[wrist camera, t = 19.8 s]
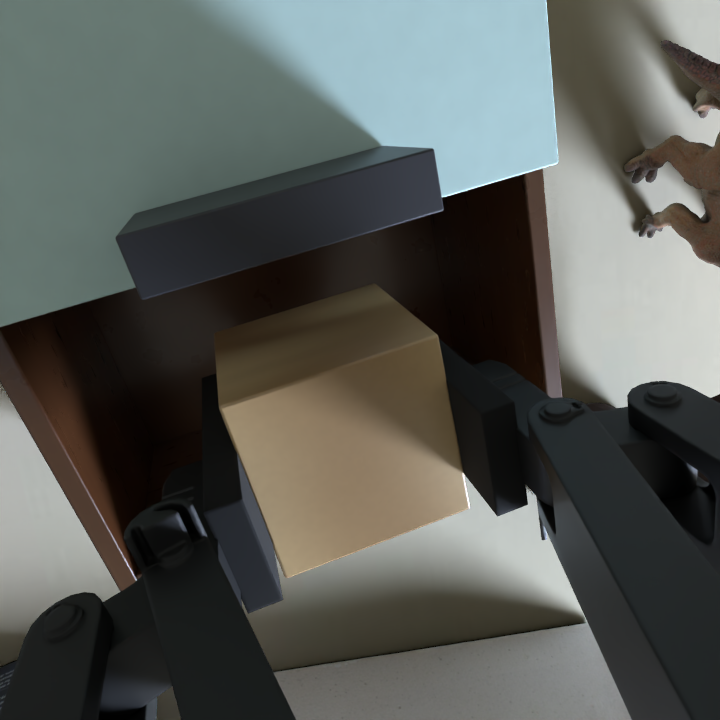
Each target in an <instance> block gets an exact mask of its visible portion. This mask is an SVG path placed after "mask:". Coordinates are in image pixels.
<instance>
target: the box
mask: <svg viewBox="0 0 720 720" xmlns="http://www.w3.org/2000/svg"><path fill="white" fill-rule="evenodd" d="M273 673H274V675H275V677H276V679H277V681H278V683H279V685H280V687H281V689H282V691H283V693H284V695H285V697H286V700H287V702H288V704H289V706H290V708H291V710H292V712H293V714H294V716H295V718H296V720H632V719H631V717H630V715H629V713H628V710H627V708H626V706H625V704H624V702H623V699H622V697H621V695H620V693H619V690H618V688H617V686H616V684H615V682H614V679H613V677H612V675H611V673H610V671H609V668H608V666H607V664H606V662H605V659H604V657H603V655H602V653H601V651H600V648H599V646H598V644H597V642H596V640H595V637H594V635H593V633H592V631H591V628H590V626H589V624H588V623H583V624H577V625H572V626H564V627H559V628H552V629H546V630H540V631H533V632H528V633H521V634H515V635H508V636H502V637H496V638H491V639H483V640H478V641H471V642H463V643H458V644H451V645H445V646H438V647H432V648H426V649H419V650H413V651H408V652H401V653H395V654H389V655H381V656H375V657H368V658H361V659H355V660H349V661H342V662H335V663H329V664H322V665H316V666H310V667H303V668H297V669H291V670H285V671H277V672H273Z"/></svg>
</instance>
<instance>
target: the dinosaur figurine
mask: <svg viewBox="0 0 720 720" xmlns="http://www.w3.org/2000/svg"><path fill="white" fill-rule="evenodd" d="M661 48H662V49H663V50H664V51H665V52H666V53H667V54H668V55H669V56H670V57H671V58H672V59H673V60H674V61H675V62H676V63H677V64H678V66H679V67H680V68H681V70H682V71H683V72H684V74H685V75H686V76H687V77H688V78H690V79H691V80H692V81H693V82H695V83H696V84H697V85H699V86H700V87H702V88H701V89H700V90H699V91H698V92H697V94H696V100H697V102H696V104H695V105H694V106H693V111H694V112H696V111H698V114H699V116H700V117H701V118H705V117H706V116H707V114H708V111H709V110H710V109H711V108H712V109H718V110H720V64H717V63H714V62H711V61H709V60H708V59H705V58H703V57H702V56H700V55H697V54H695V53H694V52H691V51H690V50H689V49H686V48H683V47H681V46H679V45H678V44H674V43H672V42H671V41H667V40H664V41H662V42H661ZM667 161H669V162H670V163H671V164H672V166H673V167H674V168H675V169H676V170H677V171H678V172H679V173H680V174H681V175H682V177H683V178H684V181H685V182H686V183H688V184H689V185H691V186H693V187H695V188H697V189H702V197H703V198H702V201H703V203H704V207H705V214H704V215H703V217H702V218H701V219H700V218H699V217H698V216H697V215H696V214H695V213H693V212H691V211H690V210H689V209H688V208H687V207H686V206H684V205H683V204H680V203H673V204H671V205H669V206H668V207H667V208H665V209H664V210H663V211H662V212H657V213H655V214H654V215H653V216H650V215H646V218H644V219H643V220H642V222H643V225H642V226H641V228H640V232H639V236H640V237H643V236H644V235H645V234H646V232H647V236H648V238H652V237H653V235H654V233H655V230H658V231H662V229H663V227H665V226H667V225H668V226H672V228H673V229H674V230H675V231H676V232H677V233H678V234H679V235H680V236H681V237H683V238H684V239H686V240H687V241H688V242H689V243H690V244H691V246H692V249H693V251H694V252H695V254H696V256H697V257H698V258H700V259H701V260H703V261H705V262H707V263H710V264H714V265H716V266H718V267H720V132H719V134H718V136H717V139H716V142H715V146H714V147H711V146H709V145H706V144H704V143H694V142H689V141H687V140H685V139H683V138H682V137H681V136H678V135H673V136H671V137H669V138H668V139H667V140H665V141H664V142H663V143H662V144H660V145H658V146H657V147H655V148H653V149H647V150H646V151H644V152H643V154H642V155H639V156H637V157H635V158H633V159H631V160H630V161H629V162H628V163H627V164H625V166H624V169H625V171H626V172H630V171H633V170H635V173H634V175H633V177H632V183H638V182H640V181H641V180H642V179H643V178H644V177H646V181H647V182H650V183H651V182H653V181H654V180H655V178H656V176H657V170H658V168H661V167H662V166H663V165H664V164H665V162H667Z"/></svg>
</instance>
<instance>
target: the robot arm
mask: <svg viewBox="0 0 720 720" xmlns="http://www.w3.org/2000/svg"><path fill="white" fill-rule="evenodd" d="M439 342H440V348H441V353H442V358H443V364H444V369H445V374H446V382H447V387H448V393H449V398H450V403H451V409H452V414H453V419H454V425H455V430H456V435H457V440H458V446H459V451H460V456H461V462H462V467H463V472H464V474H465V475H466V477H467V478H468V479H469V481H470V482H471V483H472V484H473V486H474V487H475V488H476V490H477V491H478V492H479V493H480V495H481V496H482V497H483V498H484V500H485V501H486V502H487V504H488V505H489V506H490V507H491V509H492V510H493V511H494V512H495V514H496V515H497V516H500V515H502V514H505V513H507V512H510V511H512V510H515V509H518V508H520V507H523V506H525V505H528V502H527V494H526V486H525V484H526V485H527V486H528V487H529V488H530V489H531V490H532V492H533V493H534V494H535V495H536V497H537V505H538V513H539V521H540V529H541V537H542V540H545V539H547V534H546V531H547V533H548V535H549V538H550V540H551V542H552V544H553V546H554V549H555V551H556V553H557V555H558V558H559V560H560V562H561V564H562V566H563V569H564V571H565V573H566V575H567V577H568V580H569V582H570V584H571V586H572V589H573V591H574V593H575V595H576V597H577V600H578V602H579V604H580V606H581V609H582V611H583V613H584V615H585V617H586V620H587V622H588V624H589V626H590V628H591V631H592V633H593V635H594V637H595V640H596V642H597V644H598V646H599V648H600V651H601V653H602V655H603V657H604V659H605V662H606V664H607V666H608V668H609V671H610V673H611V675H612V677H613V679H614V682H615V684H616V686H617V688H618V690H619V693H620V695H621V697H622V699H623V702H624V704H625V706H626V708H627V710H628V713H629V715H630V717H631V719H632V720H720V403H719V402H717V401H715V400H713V399H711V398H709V397H707V396H705V395H703V394H701V393H699V392H698V391H696V390H694V389H692V388H690V387H687V386H684V385H682V384H679V383H672V382H667V381H659V382H658V381H655V382H650V383H645V384H641V385H639V386H637V387H635V388H633V389H632V390H631V391H630V392H629V394H628V407H624V408H617V409H610V410H604V411H592V410H591V409H590V408H589V407H588V406H587V405H586V404H584V403H583V402H581V401H578V400H575V399H572V398H561V397H559V398H551V397H550V396H548V395H547V394H546V393H544V392H543V391H542V390H540V389H539V388H538V387H536V386H535V385H534V384H532V383H531V382H529V381H528V380H526V379H525V378H524V377H523V376H521V375H520V374H519V373H518V374H517V372H516V371H515V370H513V369H512V368H511V367H509V366H508V365H507V364H504V363H501V362H497V361H494V360H490V359H489V360H486V361H483V362H480V363H477V364H474V365H470V364H469V363H468V362H467V361H465V360H464V359H463V358H462V357H461V356H460V355H458V354H457V353H456V352H455V351H454V350H452V349H451V348H450V347H449V346H448V345H446V344H445V343H444V342H443V341H442V340H441V339H439ZM697 470H698V471H699V472H701V473H702V474H703V475H704V476H705V477H706V478H707V479H708V480H709V483H708V482H706V481H704V480H703V479H701V478H700V477H698V476H697ZM124 541H125V543H126V545H127V547H128V549H129V551H130V552H131V554H132V556H133V558H134V560H135V562H136V564H137V565H138V567H139V569H140V571H141V573H142V576H141V577H140V578H139V579H138V580H137V581H135V582H134V583H133V584H132V585H130V586H129V587H127V588H126V589H124V590H123V591H121V592H119V593H118V594H116V595H115V596H113V597H111V598H110V599H108V600H106V601H105V602H102V601H101V599H100V598H99V597H98V596H97V595H96V594H95V593H87V592H83V593H79V594H74V595H70V596H68V597H66V598H64V599H62V600H60V601H58V602H56V603H55V604H54V605H52V606H51V607H49V608H48V609H47V610H46V611H45V612H43V613H42V614H41V615H40V616H39V617H38V619H37V620H36V621H35V622H34V623H33V624H32V625H31V627H30V629H29V631H28V633H27V634H26V636H25V639H24V642H23V645H22V648H21V651H20V654H19V657H18V660H17V663H16V666H15V669H14V672H13V675H12V678H11V681H10V684H9V687H8V690H7V693H6V696H5V699H4V702H3V705H2V708H1V711H0V720H156V716H157V696H159V695H160V694H162V693H163V692H164V691H166V690H167V689H169V688H170V687H171V686H172V687H173V690H174V694H175V698H176V701H177V705H178V709H179V712H180V716H181V720H296V718H295V716H294V714H293V712H292V710H291V708H290V706H289V704H288V702H287V700H286V697H285V695H284V693H283V691H282V689H281V687H280V685H279V683H278V681H277V679H276V677H275V675H274V673H273V671H272V669H271V667H270V665H269V662H268V660H267V658H266V656H265V654H264V652H263V650H262V648H261V646H260V644H259V642H258V640H257V638H256V636H255V634H254V632H253V629H252V627H251V625H250V623H249V621H248V619H247V617H246V615H245V613H244V611H243V609H242V602H241V599H242V601H243V603H244V605H245V608H246V610H247V612H248V613H251V612H253V611H256V610H258V609H261V608H263V607H266V606H268V605H271V604H274V603H276V602H279V601H281V600H283V597H282V592H281V586H280V581H279V575H278V570H277V564H276V559H275V553H274V548H273V543H272V541H271V538H270V536H269V533H268V531H267V528H266V525H265V523H264V520H263V518H262V515H261V513H260V510H259V508H258V505H257V503H256V500H255V497H254V495H253V492H252V490H251V487H250V485H249V482H248V480H247V477H246V474H245V472H244V469H243V467H242V464H241V462H240V459H239V457H238V454H237V451H235V448H234V446H233V443H232V441H231V438H230V436H229V433H228V431H227V428H226V425H225V423H224V420H223V418H222V415H221V413H220V410H219V402H218V388H217V373H216V374H212V375H209V376H206V377H203V378H202V460H199V461H196V462H193V463H190V464H188V465H185V466H182V467H179V468H176V469H173V470H172V471H171V473H170V474H169V476H168V477H167V479H166V480H165V482H164V484H163V490H162V500H161V502H158V503H156V504H153V505H151V506H150V507H148V508H147V509H145V510H143V511H142V512H140V513H139V514H138V515H137V516H136V517H135V518H134V519H133V520H132V521H131V522H130V523H129V525H128V526H127V528H126V530H125V532H124Z"/></svg>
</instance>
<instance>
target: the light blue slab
mask: <svg viewBox="0 0 720 720" xmlns="http://www.w3.org/2000/svg"><path fill="white" fill-rule="evenodd" d="M558 162H559V161H558V148H557V135H556V122H555V108H554V95H553V82H552V69H551V56H550V42H549V29H548V16H547V3H546V0H0V327H3V326H6V325H9V324H13V323H16V322H20V321H23V320H27V319H30V318H33V317H37V316H40V315H44V314H47V313H50V312H54V311H57V310H61V309H64V308H68V307H71V306H74V305H78V304H81V303H85V302H88V301H91V300H95V299H98V298H102V297H105V296H108V295H112V294H115V293H119V292H122V291H126V290H129V289H132V288H136V289H137V291H138V294H139V296H140V298H141V299H142V300H145V299H148V298H151V297H155V296H158V295H162V294H165V293H168V292H172V291H175V290H178V289H182V288H185V287H189V286H192V285H195V284H199V283H202V282H205V281H209V280H212V279H216V278H219V277H222V276H226V275H229V274H232V273H236V272H239V271H242V270H246V269H249V268H253V267H256V266H259V265H263V264H266V263H269V262H273V261H276V260H280V259H283V258H286V257H290V256H293V255H296V254H300V253H303V252H306V251H310V250H313V249H317V248H320V247H323V246H327V245H330V244H333V243H337V242H340V241H344V240H347V239H350V238H354V237H357V236H360V235H364V234H367V233H371V232H374V231H377V230H381V229H384V228H387V227H391V226H394V225H397V224H401V223H404V222H408V221H411V220H414V219H418V218H421V217H424V216H428V215H431V214H435V213H438V212H441V211H443V210H444V207H443V201H442V198H443V197H446V196H450V195H453V194H457V193H460V192H464V191H467V190H470V189H474V188H477V187H481V186H484V185H487V184H491V183H494V182H498V181H501V180H505V179H508V178H511V177H515V176H518V175H522V174H525V173H528V172H532V171H535V170H539V169H542V168H545V167H549V166H552V165H556V164H557V163H558Z"/></svg>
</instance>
